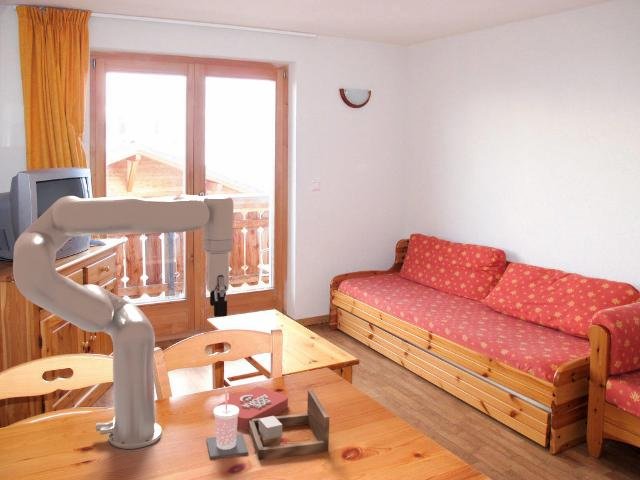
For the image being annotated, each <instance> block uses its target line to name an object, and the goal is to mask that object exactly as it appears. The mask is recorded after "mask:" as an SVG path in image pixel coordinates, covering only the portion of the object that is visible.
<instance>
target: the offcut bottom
mask: <svg viewBox="0 0 640 480" xmlns="http://www.w3.org/2000/svg"><path fill="white" fill-rule="evenodd" d="M259 437H260V440H261V443H262V446H263V447H270V446H279V445H281V436H280V437H276V438H272V439H266V438H265V437H264V436H263V434H262V433H261V432H260V435H259Z"/></svg>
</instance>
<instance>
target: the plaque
mask: <svg viewBox="0 0 640 480" xmlns="http://www.w3.org/2000/svg"><path fill="white" fill-rule="evenodd" d="M221 405H225V401H223V402H222V403H219V404H218V405H217V406H216V407H218V406H221ZM227 405H234V406H236V407H238V408H239V414H238V421H237V428H242V429H248V420H249V419H256V418H265V417H270V416H274V417H275V415H276V416H277V415H278V414H280V413H282V412H283V411H285V410H287V409H288V408H289V407H288V406H289V397H288V396H287V395H285V394H283V393H280V392H277V391H274V390H271V389H268V388H266V387H262V386H256V387H253V388H251V389H249V390H247V391H240V392H239V391H238V392H230V393H228V399H227Z"/></svg>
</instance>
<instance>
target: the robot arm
mask: <svg viewBox="0 0 640 480" xmlns="http://www.w3.org/2000/svg"><path fill="white" fill-rule="evenodd" d="M200 229H202V251H203V252H204V253H206V259H205V260H206V261H205V263H206V266H205V271H206V272H205V285H206V288H207V291H208V292H209V305H210V306H212V307H213V316H214V317H215V318H217V317H218V318H221V317H223V318H224V317H227V316H228V299H227V298H228V297H227V292H228V291H229V287H230V286H229V285H230V253H232V252H233V251H234V200H233V198H232V197H230V196H228V195H207V196H199V195H191V194H181V195H178V196H176V197H174V198H173V199H172V200H154V199H153V200H152V199H146V198H145V199H144V198H140V197H135V196H111V197H108V196H107V197H89V198H88V197H86V198H80V197H78V196H75V195H66V196H62V197H61V198H58V199H57V200H56V201H55V202H54V203H52V205H50V207H48V209H46V211H44V212H43V213H42V214H41V215H40V216H39V217H38V218H37V219H36V220H35V221H34V222H33V223H32V224H31V225H29V226H28V227H27V228H25V230H24V231H23V232H22V233H21V234H20V235H19V236H18V238H17V239H16V241H15V243H14V246H13V259H12V260H13V262H12V273H13V274H12V275H13V280H14V284H15V286H16V288H17V290H18V291H19V293H20V294H21V295H22V296H23V297H25V299H27V300H28V301H29V302H31V303H33V304H34V305H36V306H37V307H39V308H42V309H43V310H45V311H47V312H49V313H51V314H53V315H55V316H56V317H58V318H60V319H62V320H64V321H65V322H68V323H69V324H72V325H74V326H75V327H77V328H79V329H80V330H83V331H85V332H89V333H99V332H103V333H105V334H107V335H108V336H110V338H111V340H112V351H113V353H112V380H113V405H114V409H113V411H114V417H113V420H109V422H98V423H97V422H96V423H95V432H100V433H99V434H100V435H102V436H103V435H108V442H109V443H110V444H111V445H112V446H114V447H116V448H119V449H126V450H127V449H128V450H132V449H140V448H145V447H148V446H150V445H152V444H154V443H156V442H157V441H158V440H160V439H161V437H162V427H161V426H160V425H159V424H158V423H156V412H155V411H156V410H155V409H156V408H155V405H156V404H155V403H156V402H155V368H154V366H155V364H154V360H155V347H156V345H155V344H156V337H155V336H156V334H155V331H154V327H153V325H152V323H151V321H150V320H149V318H148V317H147V315H146V314H145V313H144V312H143V310H141V309H140V308H139V307H138V306H136V305H135V304H133V303H131V302H129V301H128V300H126V299H124V298H123V297H120V296H118V295H117V294H115V293H113V292H111V291H109V290H108V289H107V288H104V287H102V286H99V285H96V284H92V283H91V284H90V283H89V284H80V283H78V282H76V281H74V280H73V279H72V278H69V277H67V276H65V275H62V274H61V273H59V272H58V270H57V268H56V265H55V264H56V259H57V252H58V251H59V250H60V249H61V248H63V246H64V245H66V244H67V242H69V240H71V239H72V237H89V236H102V235H116V234H117V235H119V234H172V233H185V232H186V233H187V232H195V231H198V230H200Z"/></svg>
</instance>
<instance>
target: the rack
mask: <svg viewBox="0 0 640 480" xmlns="http://www.w3.org/2000/svg"><path fill="white" fill-rule="evenodd" d="M306 409H307V412H306V413H299V414H297V413H296V414H288V415H286V414H285V415H279V416H278V415H276V416H275V415H274V417H275V418H276V419H277V420H278V421H279V422H280V423H281V424H282V428H283V427H289V426H291V427H292V426H299V425H308V426H309V428H310V430H311V431H312V433H313V435H314V437H315V438H316V440H315V441H308V442H297V443H288V444H280V445H279V446H270V447H263V446H262V443H261V440H260V435H259V431H258V422H259V419H261V418H256V419H249V420H248V428H247V429H248V432H249V434H250V437H251V441H252V444H253V447H254V450H255V452H256V455H257V458H258V460H259V461H261V460H269V459H276V458H277V459H278V458H279V459H280V458H285V457H293V456H302V455H311V454H319V453H320V454H321V453H327V452H329V445H330V443H329V439H330V415H329V414H328V412H327V410H326V409H325V407H324V406H323V404H322V403H321V401H320V399H319V398H318V396H317V395H316V393H315V392H314V390H313V389H308V390H307V408H306Z"/></svg>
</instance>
